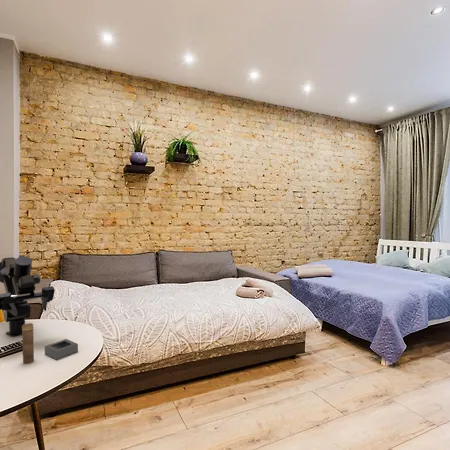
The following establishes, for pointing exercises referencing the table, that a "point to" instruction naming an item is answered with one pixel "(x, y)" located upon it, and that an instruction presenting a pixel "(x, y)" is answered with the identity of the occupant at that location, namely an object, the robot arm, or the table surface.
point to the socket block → (61, 349)
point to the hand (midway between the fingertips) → (31, 312)
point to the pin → (28, 343)
